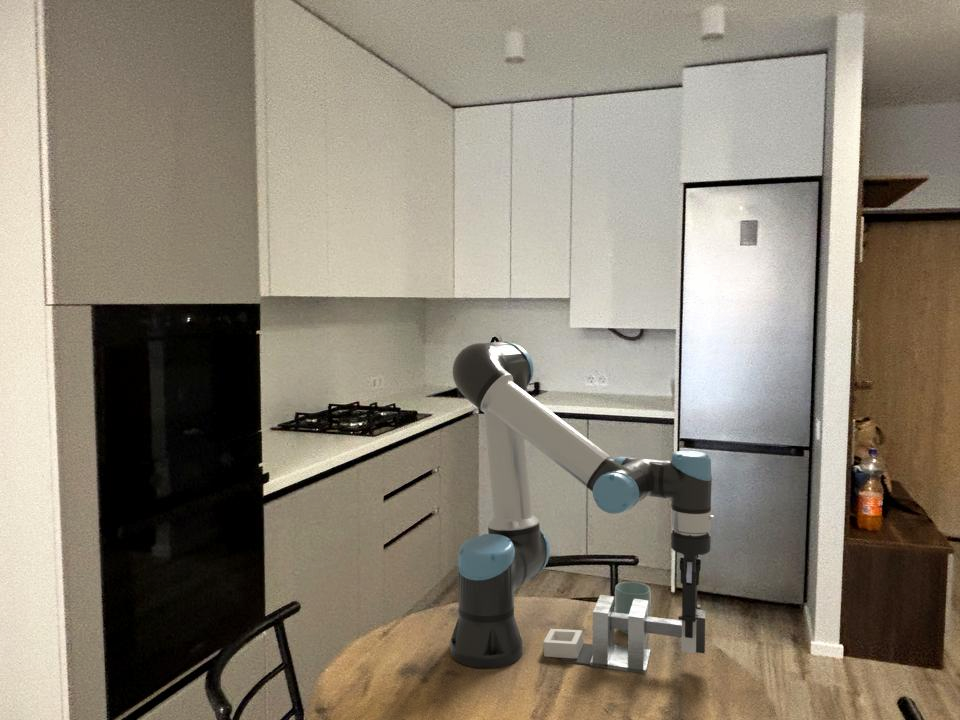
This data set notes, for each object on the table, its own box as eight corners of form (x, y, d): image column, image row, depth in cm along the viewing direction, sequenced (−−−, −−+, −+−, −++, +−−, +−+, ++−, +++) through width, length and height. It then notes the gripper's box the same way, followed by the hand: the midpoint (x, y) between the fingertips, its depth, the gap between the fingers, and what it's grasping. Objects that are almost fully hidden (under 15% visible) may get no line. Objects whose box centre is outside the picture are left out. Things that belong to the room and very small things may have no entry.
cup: (650, 640, 158) (651, 595, 158) (614, 637, 160) (614, 592, 159) (649, 625, 166) (650, 582, 165) (615, 623, 168) (615, 580, 167)
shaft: (596, 639, 149) (597, 605, 148) (599, 631, 153) (600, 598, 152) (704, 653, 142) (705, 618, 142) (705, 644, 146) (705, 610, 146)
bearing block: (590, 665, 147) (590, 611, 146) (597, 646, 156) (597, 594, 155) (645, 674, 143) (646, 618, 143) (650, 653, 152) (650, 600, 152)
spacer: (577, 658, 149) (544, 656, 151) (583, 644, 155) (551, 642, 158) (576, 644, 149) (543, 642, 151) (582, 630, 155) (550, 628, 158)
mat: (560, 661, 149) (560, 659, 149) (569, 642, 157) (569, 641, 157) (590, 665, 147) (590, 664, 147) (597, 646, 156) (597, 645, 156)
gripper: (710, 545, 135) (708, 668, 136) (711, 520, 151) (709, 631, 152) (668, 541, 137) (666, 663, 138) (673, 517, 153) (672, 626, 154)
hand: (689, 646), depth 145 cm, fingers closed on shaft, 4 cm apart
